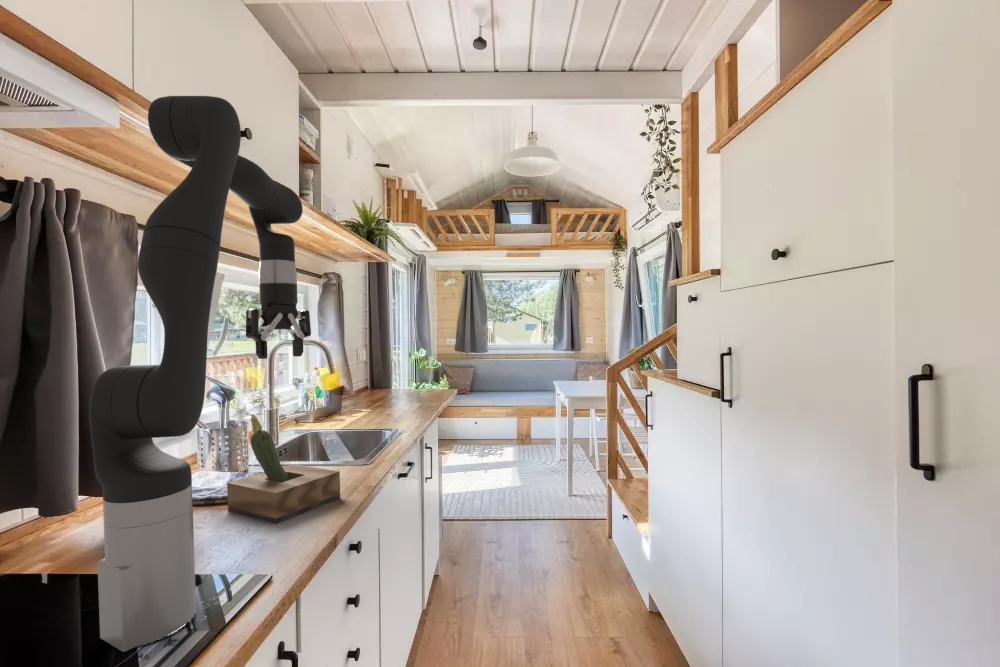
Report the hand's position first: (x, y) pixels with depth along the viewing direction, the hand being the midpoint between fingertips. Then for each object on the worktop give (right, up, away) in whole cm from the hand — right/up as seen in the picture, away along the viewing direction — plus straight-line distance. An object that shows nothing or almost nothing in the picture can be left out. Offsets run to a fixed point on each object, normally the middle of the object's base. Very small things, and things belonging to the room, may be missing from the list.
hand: (280, 357), depth 106 cm
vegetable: (+1, -31, 0) cm, 31 cm away
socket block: (+1, -32, 0) cm, 32 cm away
